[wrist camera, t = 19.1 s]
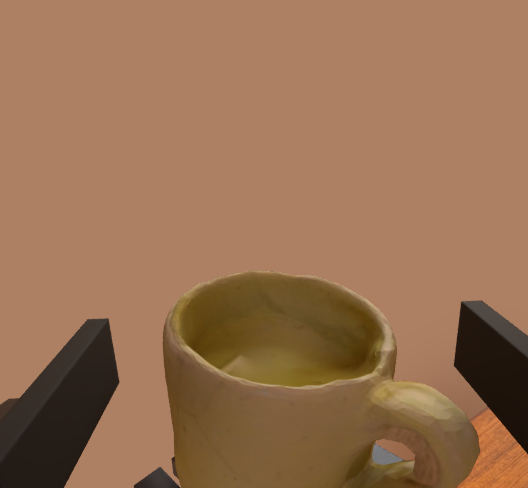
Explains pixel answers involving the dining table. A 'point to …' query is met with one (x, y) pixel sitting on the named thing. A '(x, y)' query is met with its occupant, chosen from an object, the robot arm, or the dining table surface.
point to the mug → (300, 391)
